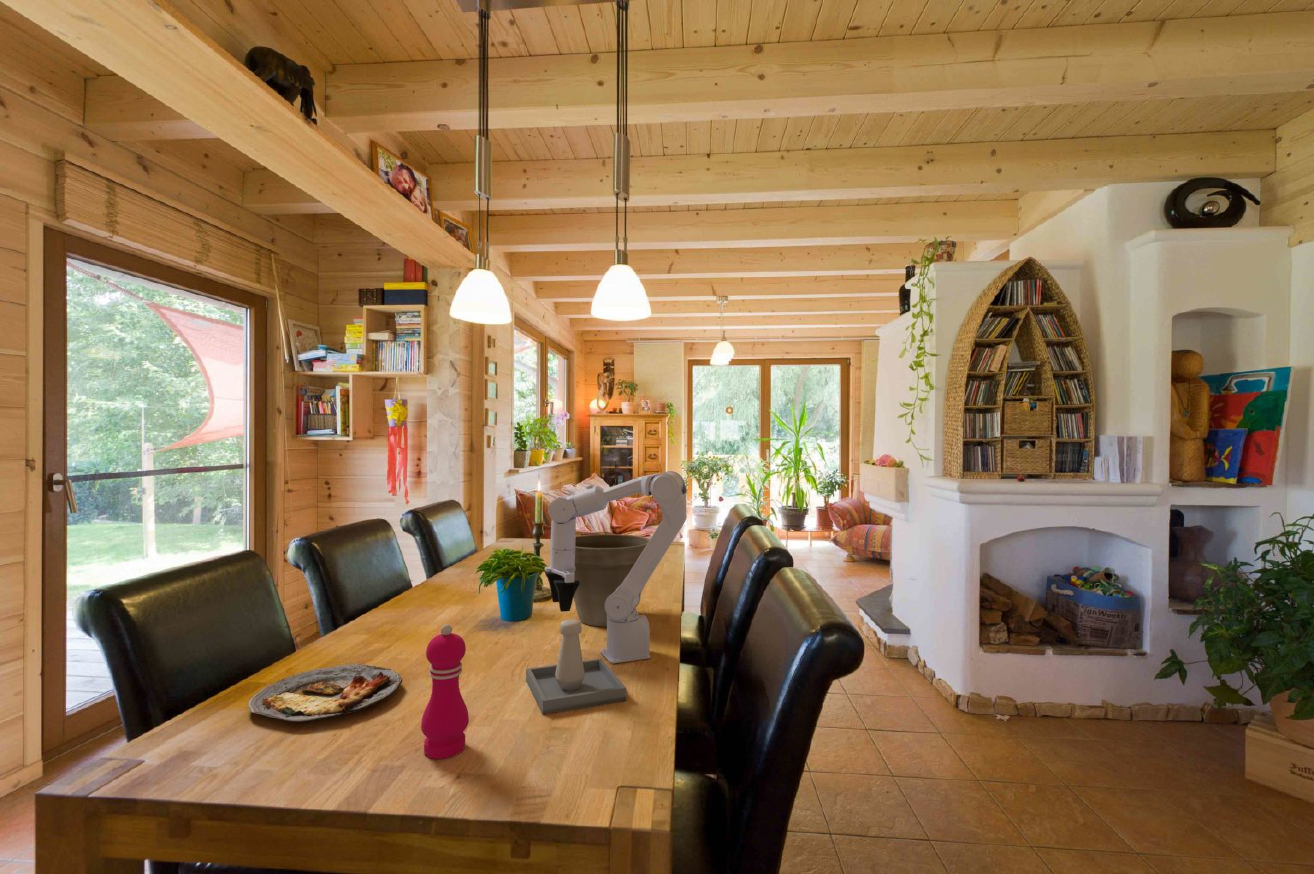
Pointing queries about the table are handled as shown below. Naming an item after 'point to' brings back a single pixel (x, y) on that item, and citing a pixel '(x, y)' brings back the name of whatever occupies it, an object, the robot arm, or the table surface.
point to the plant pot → (602, 571)
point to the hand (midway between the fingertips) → (561, 606)
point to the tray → (592, 692)
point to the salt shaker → (570, 657)
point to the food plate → (325, 692)
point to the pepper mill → (445, 697)
